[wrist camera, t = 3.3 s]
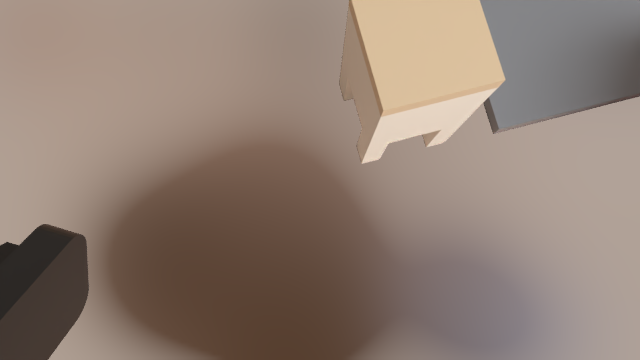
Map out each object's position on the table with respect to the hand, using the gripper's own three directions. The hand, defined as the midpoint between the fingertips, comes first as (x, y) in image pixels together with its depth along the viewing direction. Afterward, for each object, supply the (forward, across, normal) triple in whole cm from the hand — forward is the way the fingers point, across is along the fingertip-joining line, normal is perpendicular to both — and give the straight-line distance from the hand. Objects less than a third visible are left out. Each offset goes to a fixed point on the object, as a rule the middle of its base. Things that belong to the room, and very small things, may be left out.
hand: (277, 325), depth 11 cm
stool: (+26, -2, +8) cm, 27 cm away
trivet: (+33, -11, +1) cm, 35 cm away
